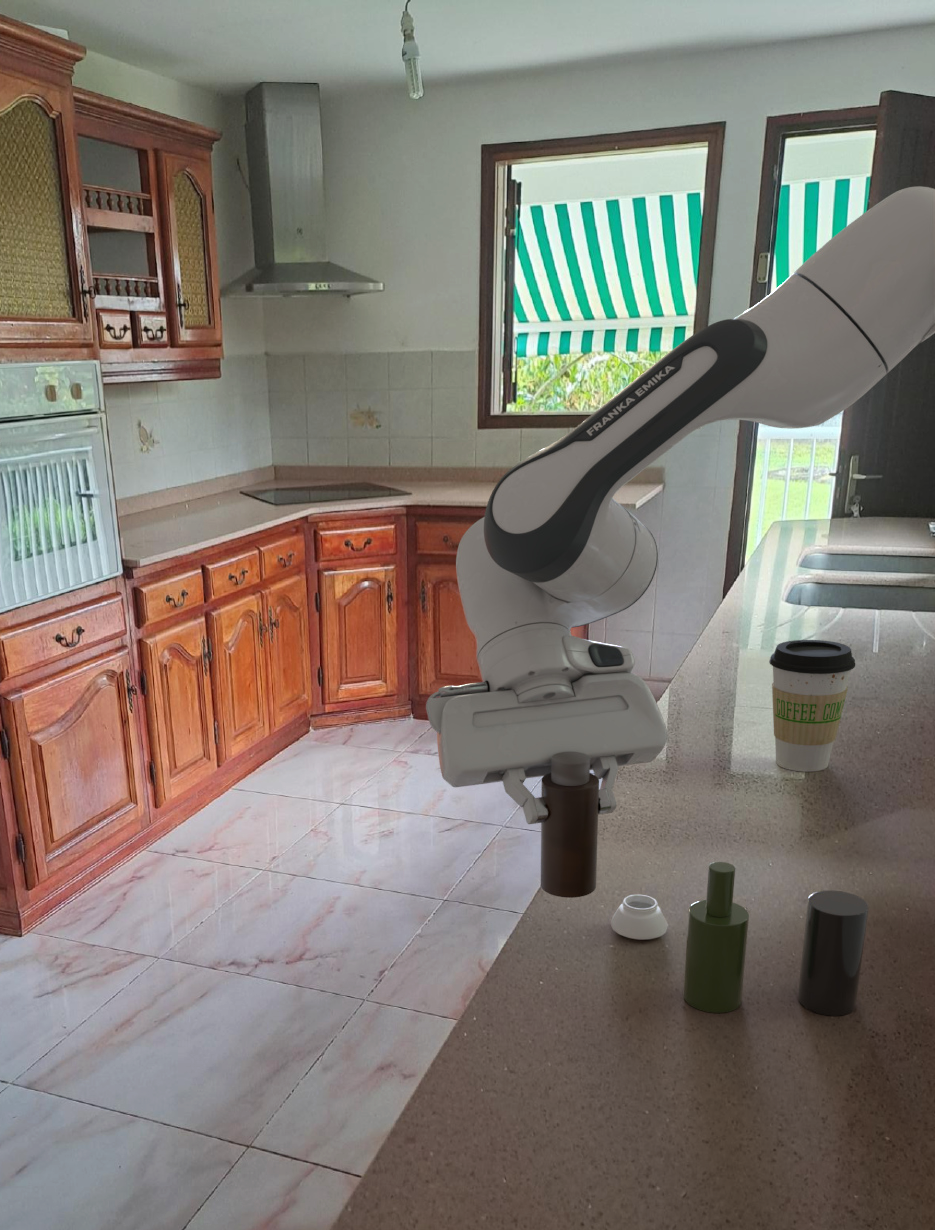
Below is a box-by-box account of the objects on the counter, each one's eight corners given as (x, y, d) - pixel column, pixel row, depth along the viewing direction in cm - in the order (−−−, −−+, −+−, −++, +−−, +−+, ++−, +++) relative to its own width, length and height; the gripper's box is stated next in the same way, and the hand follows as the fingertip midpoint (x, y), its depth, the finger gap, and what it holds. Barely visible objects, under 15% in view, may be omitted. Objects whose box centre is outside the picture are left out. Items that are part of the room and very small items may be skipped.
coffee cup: (790, 781, 137) (802, 661, 131) (745, 756, 146) (754, 643, 140) (861, 770, 139) (875, 652, 133) (812, 746, 148) (823, 635, 142)
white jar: (661, 946, 101) (670, 922, 105) (663, 917, 100) (672, 894, 104) (606, 938, 103) (617, 914, 107) (607, 909, 102) (618, 886, 106)
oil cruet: (735, 984, 95) (746, 855, 90) (746, 1014, 90) (758, 879, 86) (679, 982, 95) (687, 854, 91) (687, 1012, 91) (696, 879, 87)
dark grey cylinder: (847, 987, 93) (859, 890, 90) (862, 1016, 89) (875, 916, 86) (792, 986, 94) (802, 889, 91) (804, 1015, 90) (815, 915, 86)
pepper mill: (582, 870, 101) (585, 745, 97) (605, 893, 97) (609, 763, 93) (532, 878, 101) (533, 752, 96) (552, 901, 96) (554, 770, 92)
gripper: (427, 671, 97) (464, 817, 91) (648, 647, 100) (695, 786, 95) (415, 706, 102) (449, 846, 97) (624, 682, 106) (668, 815, 100)
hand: (573, 816), depth 96 cm, fingers closed on pepper mill, 5 cm apart
